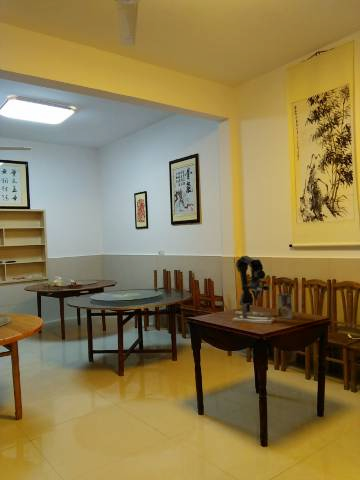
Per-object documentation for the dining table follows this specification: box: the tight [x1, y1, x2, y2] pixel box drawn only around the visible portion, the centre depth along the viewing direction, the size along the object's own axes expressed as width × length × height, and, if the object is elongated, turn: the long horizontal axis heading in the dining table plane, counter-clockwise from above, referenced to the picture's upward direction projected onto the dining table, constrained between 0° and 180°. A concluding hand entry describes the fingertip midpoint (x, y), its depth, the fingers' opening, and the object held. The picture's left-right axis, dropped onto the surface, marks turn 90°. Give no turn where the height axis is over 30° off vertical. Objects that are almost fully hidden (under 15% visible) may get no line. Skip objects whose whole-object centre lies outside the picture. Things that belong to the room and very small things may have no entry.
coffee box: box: [277, 293, 294, 319], centre depth 271 cm, size 9×6×16 cm
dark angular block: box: [241, 305, 248, 318], centre depth 268 cm, size 5×2×8 cm, turn 155°
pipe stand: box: [232, 310, 275, 325], centre depth 266 cm, size 12×26×6 cm, turn 65°
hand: (256, 300), depth 272 cm, fingers closed
